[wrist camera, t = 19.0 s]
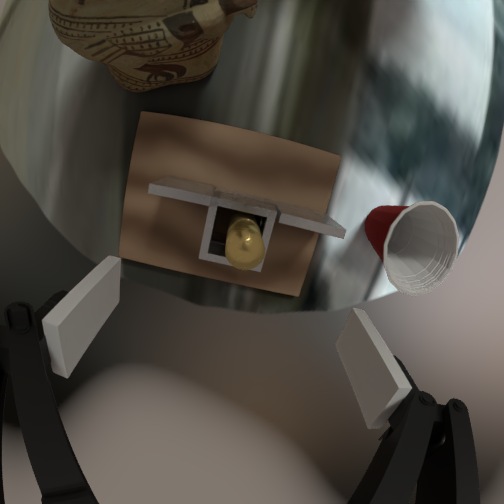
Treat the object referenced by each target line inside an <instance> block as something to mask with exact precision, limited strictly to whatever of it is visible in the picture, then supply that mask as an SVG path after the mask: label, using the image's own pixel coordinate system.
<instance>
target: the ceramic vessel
mask: <svg viewBox="0 0 504 504" xmlns="http://www.w3.org/2000/svg"><path fill="white" fill-rule="evenodd" d="M257 6H258V5H257V0H49V16H50V20H51V23H52V26H53V28H54V31H55V33H56V35H57V36H58V38H59V39H60V41H61V42H62V43H63V44H65V45H66V46H68V47H70V48H71V49H72V50H74V51H75V52H76V53H78V54H79V55H81V56H83V57H85V58H87V59H89V60H93V61H96V62H100V63H105V64H106V66H107V68H108V70H109V71H110V73H111V74H112V76H113V77H114V79H115V80H116V82H117V83H118V84H119V85H120V86H121V87H123V88H125V89H126V90H129V91H131V92H145V91H149V90H152V89H155V88H159V87H162V86H166V85H171V84H178V83H188V82H194V81H198V80H201V79H203V78H205V77H206V76H208V75H209V74H210V73H211V72H213V70H214V69H215V67H216V66H217V63H218V61H219V57H220V53H221V48H222V42H223V36H224V33H225V32H226V31H227V29H228V28H229V26H230V25H231V23H232V21H233V19H234V16H235V15H237V14H245V15H246V16H247V17H248V18H253V16H254V14H255V12H256V9H257Z"/></svg>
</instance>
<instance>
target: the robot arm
mask: <svg viewBox="0 0 504 504" xmlns="http://www.w3.org/2000/svg"><path fill="white" fill-rule="evenodd" d="M120 270H121V258H118V257H114V256H110V255H109V256H107V257H106V258H105V259H104V260H103V261H102V262H101V263H100V264H99V265H98V266H96V267H95V268H94V269H93V270H92V271H91V272H90V273H89V274H88V275H87V276H86V277H85V278H84V279H83V280H81V281H80V282H79V283H78V284H77V285H76V286H75V287H74V288H73V289H72V290H71V291H70V292H67V291H64V290H63V291H60V292H58V293H56V294H54V295H53V296H52V297H51V298H50V299H49V300H48V301H46V302H45V303H44V305H42V306H41V308H39V309H38V310H37V311H36V312H35V313H34V310H33V307H32V306H31V305H30V304H29V303H26V302H14V303H11V304H10V305H8V306H7V307H6V308H5V310H4V316H5V320H6V324H7V326H2V325H0V504H5V501H4V492H3V480H2V426H3V412H4V401H5V394H6V386H7V379H8V374H11V375H12V383H13V390H14V395H15V402H16V406H17V412H18V417H19V421H20V426H21V430H22V434H23V438H24V442H25V446H26V449H27V453H28V456H29V459H30V462H31V465H32V469H33V471H34V474H35V477H36V480H37V483H38V485H39V488H40V490H41V494H42V499H41V501H42V504H99V503H98V501H97V499H96V497H95V496H94V494H93V492H92V490H91V488H90V486H89V484H88V482H87V480H86V478H85V476H84V474H83V472H82V470H81V468H80V465H79V463H78V461H77V459H76V457H75V454H74V452H73V449H72V447H71V444H70V442H69V439H68V437H67V434H66V431H65V429H64V426H63V423H62V420H61V417H60V414H59V411H58V408H57V405H56V402H55V398H54V395H53V392H52V388H51V385H50V381H49V377H48V373H47V367H48V366H49V364H50V363H51V366H52V370H53V372H54V373H56V374H59V375H61V376H63V377H65V378H68V377H69V376H70V374H71V372H72V371H73V369H74V368H75V366H76V365H77V363H78V361H79V360H80V358H81V356H82V355H83V354H84V352H85V351H86V349H87V348H88V346H89V345H90V343H91V342H92V340H93V339H94V337H95V336H96V334H97V333H98V331H99V330H100V328H101V327H102V325H103V324H104V322H105V321H106V320H107V318H108V317H109V315H110V314H111V312H112V311H113V310H114V308H115V307H116V305H117V304H118V303H119V291H120V290H119V289H120ZM335 346H336V348H337V351H338V353H339V356H340V358H341V361H342V363H343V366H344V368H345V371H346V373H347V376H348V378H349V380H350V383H351V386H352V388H353V390H354V393H355V396H356V398H357V401H358V403H359V406H360V409H361V411H362V414H363V416H364V419H365V421H366V424H367V427H368V429H373V428H382V426H383V425H384V424H385V423H386V422H387V420H388V421H389V423H390V427H389V428H388V429H387V430H386V431H385V432H384V434H383V435H382V436H381V437H380V438H379V440H381V439H382V438H383V439H382V441H381V443H380V445H379V447H378V449H377V451H376V453H375V455H374V457H373V459H372V461H371V463H370V465H369V467H368V469H367V470H366V472H365V474H364V476H363V478H362V480H361V481H360V483H359V485H358V486H357V488H356V490H355V491H354V493H353V495H352V497H351V498H350V500H349V501H348V503H347V504H409V502H410V499H411V497H412V494H413V491H414V489H415V486H416V483H417V491H416V500H415V504H480V491H479V478H478V468H477V460H476V452H475V446H474V440H473V434H472V429H471V423H470V418H469V413H468V409H467V407H466V405H465V404H464V403H463V402H462V401H461V400H458V399H454V398H453V399H450V400H449V402H448V403H447V404H446V405H441V404H437V402H436V400H435V399H434V398H433V397H432V395H430V394H428V393H426V392H424V391H419V389H418V388H417V386H416V384H415V383H414V381H413V379H412V378H411V376H410V375H409V373H408V371H407V370H406V368H405V366H404V365H403V363H402V362H401V361H400V360H399V359H398V358H397V357H396V356H394V355H392V354H391V352H390V350H389V349H388V347H387V345H386V344H385V342H384V341H383V339H382V337H381V336H380V334H379V333H378V331H377V330H376V328H375V327H374V325H373V323H372V322H371V320H370V319H369V317H368V316H367V314H366V313H365V311H364V310H363V309H357V308H352V310H351V312H350V314H349V316H348V319H347V321H346V323H345V325H344V327H343V330H342V332H341V334H340V336H339V338H338V340H337V342H336V344H335ZM444 439H445V442H444V443H443V440H444Z"/></svg>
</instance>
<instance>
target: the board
mask: <svg viewBox="0 0 504 504" xmlns="http://www.w3.org/2000/svg"><path fill="white" fill-rule="evenodd" d="M340 161H341V156H338V155H335V154H332V153H329V152H326V151H323V150H320V149H317V148H313V147H310V146H307V145H303V144H300V143H296V142H293V141H289V140H286V139H282V138H278V137H275V136H271V135H267V134H263V133H259V132H255V131H251V130H246V129H242V128H237V127H233V126H228V125H223V124H219V123H214V122H208V121H203V120H198V119H192V118H186V117H180V116H173V115H167V114H160V113H152V112H144V111H141V115H140V119H139V123H138V128H137V132H136V137H135V142H134V147H133V152H132V157H131V162H130V168H129V174H128V180H127V186H126V193H125V200H124V208H123V216H122V225H121V234H120V245H119V257H121V258H125V259H129V260H134V261H138V262H142V263H146V264H150V265H154V266H158V267H163V268H167V269H171V270H175V271H180V272H184V273H188V274H193V275H197V276H202V277H206V278H211V279H215V280H220V281H225V282H229V283H234V284H239V285H243V286H248V287H253V288H258V289H263V290H268V291H273V292H278V293H283V294H288V295H293V296H299V294H300V291H301V288H302V285H303V282H304V279H305V276H306V273H307V270H308V267H309V264H310V261H311V258H312V255H313V252H314V249H315V246H316V242H317V239H318V236H319V232H315V231H311V230H307V229H303V228H299V227H295V226H291V225H287V224H283V223H279V222H278V220H277V218H275V222H274V226H273V229H272V233H271V237H270V240H269V244H268V247H267V251H266V255H265V258H264V262H263V265H262V269H261V272H258V271H253V270H241V269H237V268H235V267H234V266H230V265H225V264H221V263H216V262H212V261H207V260H203V259H199V253H200V248H201V243H202V238H203V233H204V228H205V223H206V219H207V214H208V209H209V206H207V205H202V204H197V203H193V202H188V201H183V200H179V199H174V198H169V197H164V196H159V195H154V194H149V193H148V189H149V183H152V182H155V181H157V180H160V179H163V178H166V177H173V178H178V179H183V180H188V181H193V182H198V183H202V184H207V185H212V186H215V187H214V191H215V190H216V189H217V187H222V188H227V189H231V190H236V191H240V192H244V193H249V194H253V195H257V196H261V197H265V198H269V199H273V200H277V201H281V202H285V203H289V204H293V205H297V206H301V207H304V208H308V209H312V210H316V211H319V212H323V213H326V210H327V207H328V203H329V200H330V196H331V193H332V189H333V186H334V182H335V179H336V175H337V172H338V168H339V164H340ZM231 211H232V209H229V208H225V207H220V209H219V213H218V218H217V222H216V227H215V232H217V233H221V234H226V235H227V231H228V223H229V216H230V212H231ZM254 215H255V214H254ZM258 217H259V215H255V218H256V221H258Z"/></svg>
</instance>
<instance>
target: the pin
mask: <svg viewBox="0 0 504 504" xmlns="http://www.w3.org/2000/svg"><path fill="white" fill-rule="evenodd" d="M225 254H226V258H227V260H228V261H229V263H230V264H231V265H232V266H234V267H235V268H237V269H241V270H249V269H253V268H255V267H257V266H258V265H259V264H260V263H261V262H262V260H263V259H264V256H265V245H264V242H263V239H262V236H261V233H260V230H259V227H258V224H257V221H256V218H255V215H254V214H251V213H247V212H243V211H238V210H234V209H232V211H231V212H230V216H229V223H228V231H227V239H226V247H225Z"/></svg>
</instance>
